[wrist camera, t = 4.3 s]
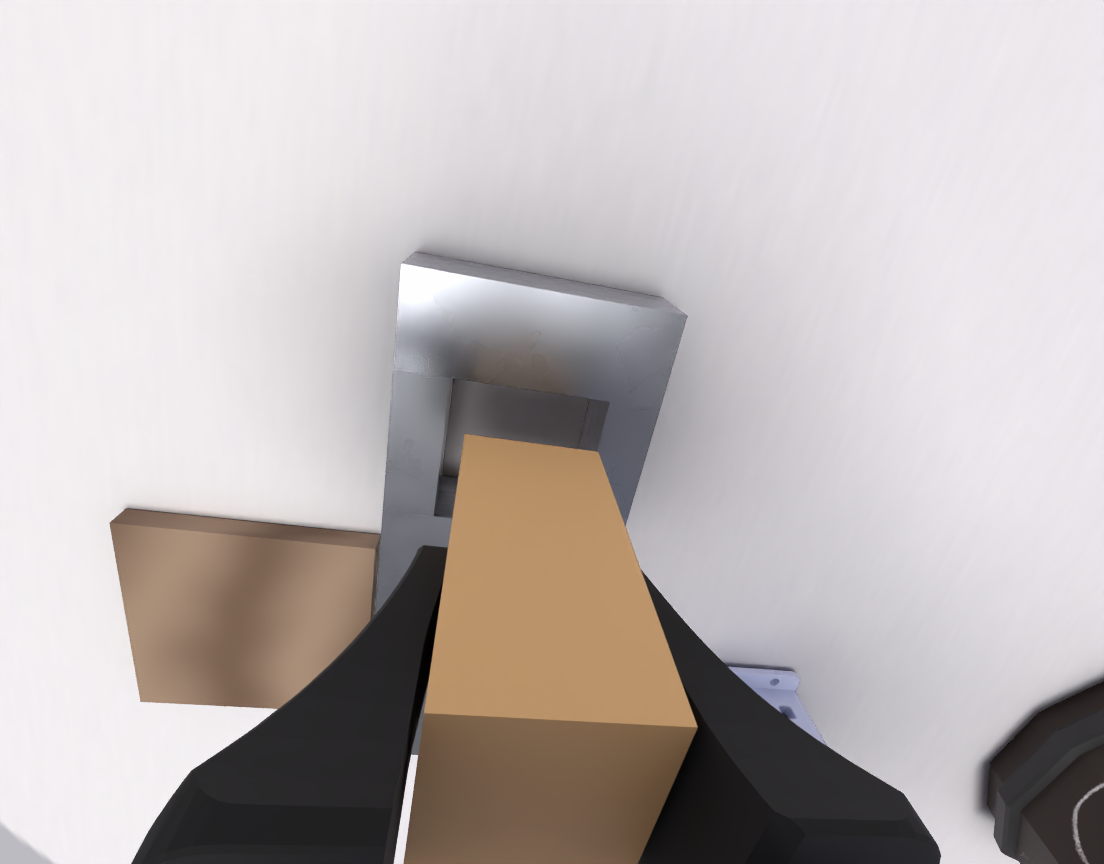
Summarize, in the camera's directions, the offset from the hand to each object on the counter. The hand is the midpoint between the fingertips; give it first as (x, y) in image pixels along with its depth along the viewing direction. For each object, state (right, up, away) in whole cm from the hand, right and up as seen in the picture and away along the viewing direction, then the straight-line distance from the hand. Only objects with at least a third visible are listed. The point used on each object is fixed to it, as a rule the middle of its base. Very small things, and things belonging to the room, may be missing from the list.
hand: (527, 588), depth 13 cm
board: (-13, -4, +11) cm, 18 cm away
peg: (0, +2, +4) cm, 4 cm away
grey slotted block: (-2, 0, +11) cm, 11 cm away
